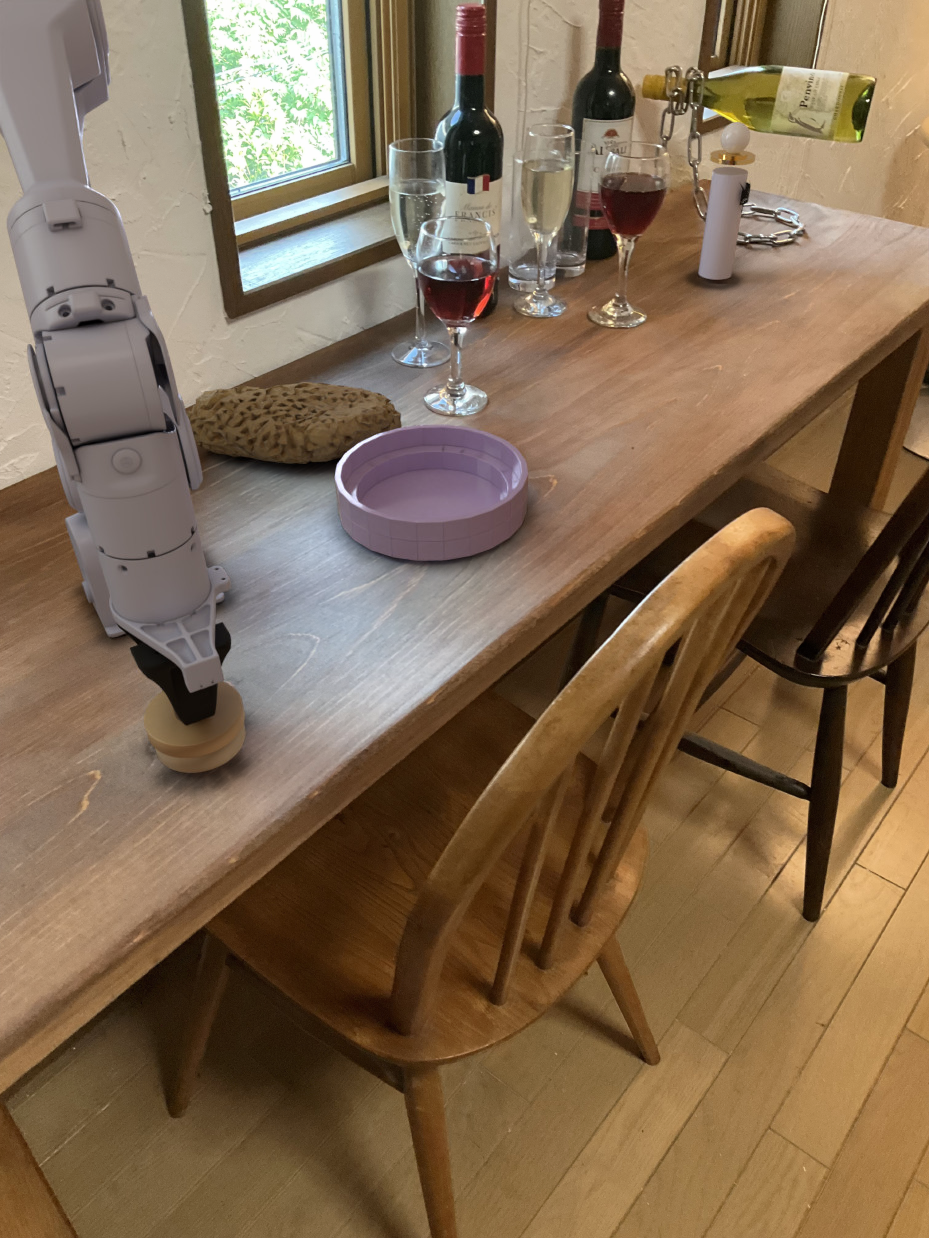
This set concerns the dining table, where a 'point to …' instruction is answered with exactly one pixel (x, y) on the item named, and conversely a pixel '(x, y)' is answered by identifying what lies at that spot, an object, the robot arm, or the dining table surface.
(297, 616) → the dining table surface
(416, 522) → the bowl
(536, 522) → the dining table surface
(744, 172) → the white cylinder with ball
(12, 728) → the dining table surface
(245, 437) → the sponge
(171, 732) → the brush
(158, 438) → the robot arm
